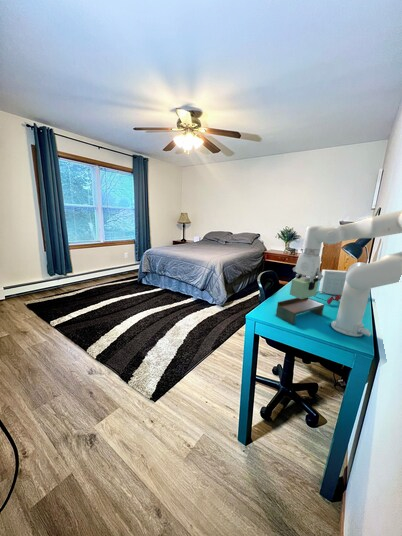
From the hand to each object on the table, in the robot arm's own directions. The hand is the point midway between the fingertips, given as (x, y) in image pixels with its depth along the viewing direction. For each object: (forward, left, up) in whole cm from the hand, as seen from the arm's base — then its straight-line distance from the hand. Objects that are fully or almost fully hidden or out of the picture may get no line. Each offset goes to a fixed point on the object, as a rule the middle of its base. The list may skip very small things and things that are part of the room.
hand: (304, 287), depth 108 cm
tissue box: (0, 0, -4) cm, 4 cm away
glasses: (+9, -34, -16) cm, 39 cm away
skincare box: (+11, -54, -16) cm, 57 cm away
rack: (0, 0, -16) cm, 16 cm away
